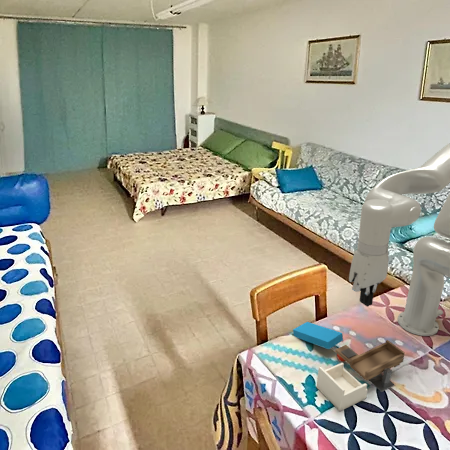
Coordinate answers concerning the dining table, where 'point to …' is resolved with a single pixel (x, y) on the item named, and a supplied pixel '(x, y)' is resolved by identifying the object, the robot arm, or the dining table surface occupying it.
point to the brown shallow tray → (372, 359)
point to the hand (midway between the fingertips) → (365, 303)
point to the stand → (382, 380)
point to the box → (340, 387)
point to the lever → (319, 336)
